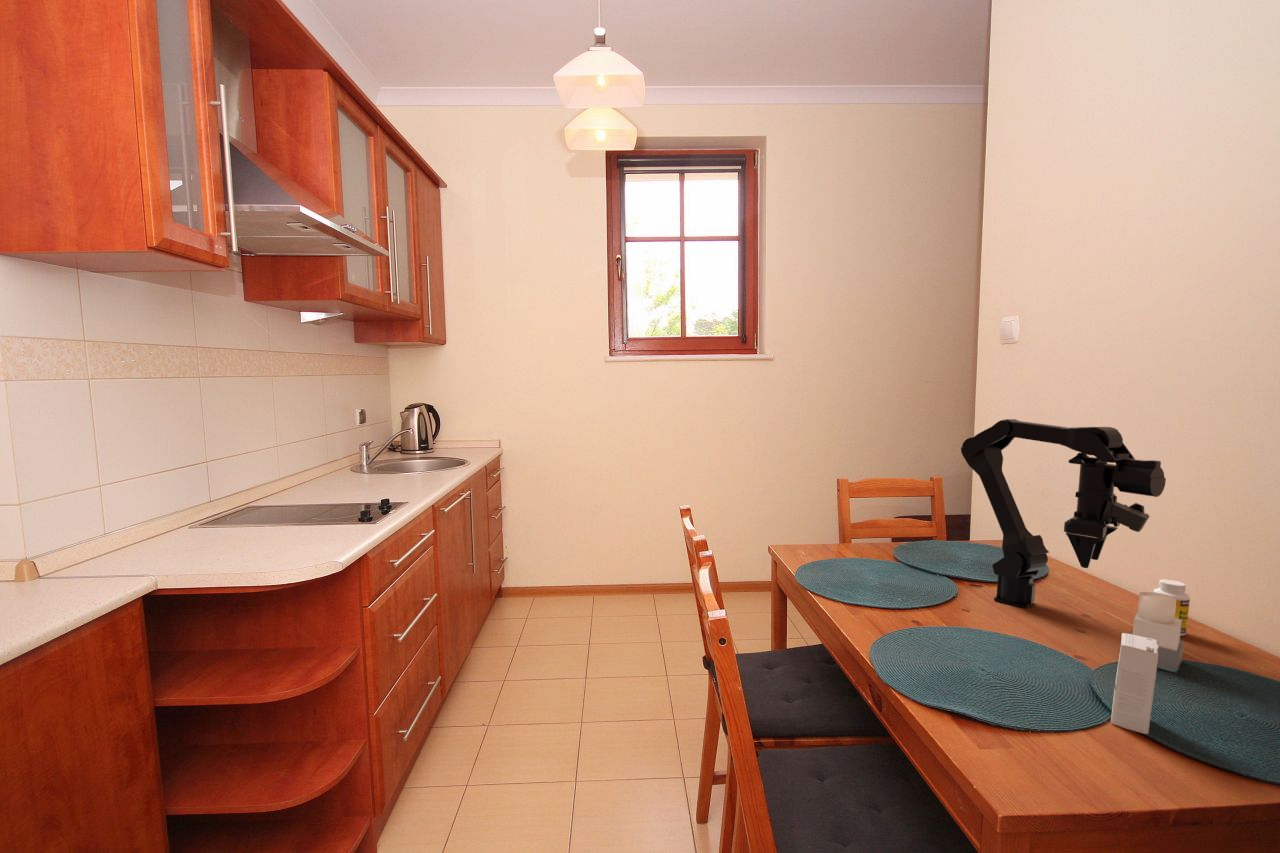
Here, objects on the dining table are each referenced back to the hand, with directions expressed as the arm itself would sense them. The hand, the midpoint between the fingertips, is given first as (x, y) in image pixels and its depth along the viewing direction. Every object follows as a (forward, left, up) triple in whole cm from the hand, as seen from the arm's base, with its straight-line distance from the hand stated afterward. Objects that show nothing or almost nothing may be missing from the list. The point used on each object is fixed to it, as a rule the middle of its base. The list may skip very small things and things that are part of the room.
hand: (1089, 563), depth 123 cm
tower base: (+12, -10, -13) cm, 21 cm away
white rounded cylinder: (+12, -10, -5) cm, 17 cm away
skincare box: (+13, -40, -13) cm, 44 cm away
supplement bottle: (+12, +10, -13) cm, 20 cm away
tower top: (+12, -10, -9) cm, 18 cm away
